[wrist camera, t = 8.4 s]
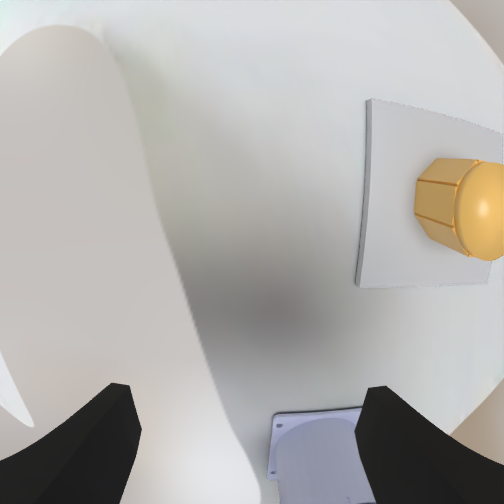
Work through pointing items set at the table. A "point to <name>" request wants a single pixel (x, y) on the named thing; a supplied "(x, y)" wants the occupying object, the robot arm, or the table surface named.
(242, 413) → the table surface
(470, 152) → the plate
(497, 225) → the wire nut
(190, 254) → the table surface
